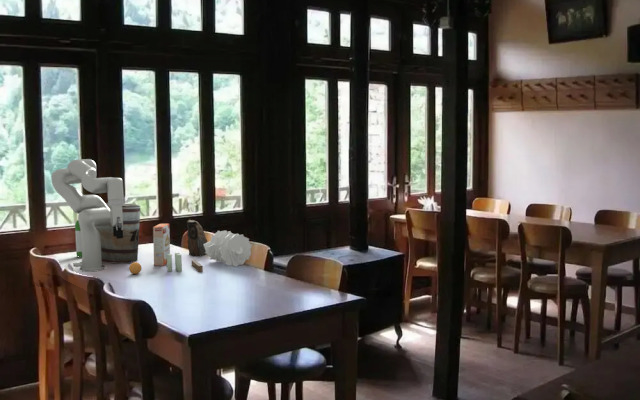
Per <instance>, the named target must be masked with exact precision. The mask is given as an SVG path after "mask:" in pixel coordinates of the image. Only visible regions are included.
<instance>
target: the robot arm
mask: <svg viewBox="0 0 640 400" xmlns="http://www.w3.org/2000/svg"><path fill="white" fill-rule="evenodd" d="M97 175H98V174H97V164H96V162H95V161H94V160H92V159H91V158H86V159H85V158H84V159H83V158H82V159H81V158H80V159H74V160H73V159H72V160H71V161H69V163H68V164H67V168H59V169H56V170H55V171H53V172H52V173H51V178H50V179H51V184H52V187H53V189H54V190H55V192H56V193H57V194H58V195H60V197H61V198H63V199H64V201H65V202H66V203H67V204H68V206H69V207H70V209H71V210H72V211H73V212H74V213H75V214H78V216H77V220H78V221H79V225H80V230H81V242H82V258H81V259H82V260H81V261H79V262H73V264H72V266H73V267H74V268H79V271H80V270H82V271H81V272H98V271H97V270H99V271H103V270H105V269H106V266H105V265H103V262H102V256H101V236H100V233H99V231H98V230H97V226H103V225H108V224H110V223H111V225H112V226H113V236H116V238H117V239H119V238H123V230H122V225H123V213H122V206H124V204H125V199H124V198H125V197H124V183H123V182H124V181H123V179H122V178H121V177H112V176H109V177H108V176H107V177H97ZM76 184H81V185H82V187H83V188H84V189H85V190H86V191H87V192H90V193H91V194H83V193H81V191H79V189H78V188H76V186H73V185H76ZM104 193H107V203H108V206H110V209H109V208H108V206H107V205H106V204H105V203H106V202H105V201H104V200H103V199H102V198H101V197H100V196H99V195H96V194H104ZM102 269H103V270H102Z"/></svg>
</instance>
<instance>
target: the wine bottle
mask: <svg viewBox="0 0 640 400" xmlns="http://www.w3.org/2000/svg"><path fill="white" fill-rule="evenodd" d="M74 229H75V231H74V232H75V233H74V234H75V249H76V250H75V251H76V257H77V256H79V257H82V242H81V230H80V225H79V221H78V219H76V221H75V223H74ZM79 257H78V258H79Z"/></svg>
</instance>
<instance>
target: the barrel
mask: <svg viewBox="0 0 640 400" xmlns="http://www.w3.org/2000/svg"><path fill="white" fill-rule="evenodd" d="M104 203H105V204H106V205H107V206H108V202H104ZM108 208H109V209H110V206H108ZM122 213H123V225H122V230H123V238H119V239H117V238H116V236H113V226H112V225H111V223H110V224H108V225H103V226H97V227H96V228H97V230H98V231H99V233H100V236H101V256H102V263H111V264H127V263H129V264H131V263H133V262H137V261H139V260H138V259H139V257H138V256H139V240H140V221H141V205H138V204H132V203H124V206H122Z"/></svg>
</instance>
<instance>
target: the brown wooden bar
mask: <svg viewBox="0 0 640 400" xmlns="http://www.w3.org/2000/svg"><path fill="white" fill-rule="evenodd" d="M190 264H191V267H192V268H194V269H195V270H196V271H197V272H198V273H202V272H203V271H204V269H203V267H204V266H203V265H202V264H201V263H200V262H199V261H197V260H196V259H191V263H190Z"/></svg>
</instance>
